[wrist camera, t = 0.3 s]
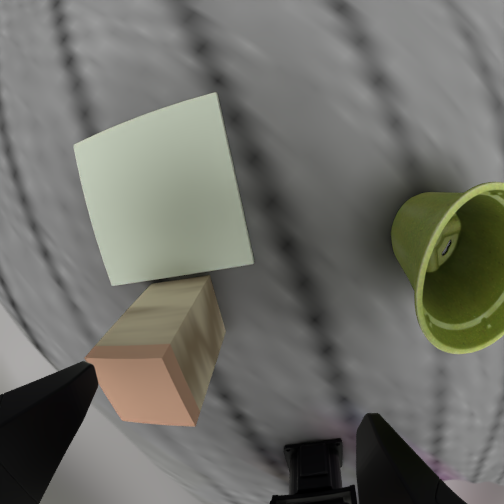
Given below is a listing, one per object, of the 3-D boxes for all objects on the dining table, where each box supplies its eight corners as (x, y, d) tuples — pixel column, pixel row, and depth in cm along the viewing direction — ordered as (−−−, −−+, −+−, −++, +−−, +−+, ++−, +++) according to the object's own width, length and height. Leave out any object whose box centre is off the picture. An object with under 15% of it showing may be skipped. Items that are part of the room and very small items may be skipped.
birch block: (225, 331, 24) (195, 426, 14) (170, 336, 24) (122, 420, 15) (209, 275, 22) (162, 358, 13) (151, 283, 23) (84, 357, 14)
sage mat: (254, 261, 21) (253, 263, 21) (114, 283, 23) (112, 286, 23) (217, 93, 18) (215, 92, 17) (77, 144, 20) (73, 145, 19)
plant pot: (404, 143, 18) (474, 142, 9) (489, 207, 18) (561, 238, 10) (345, 260, 21) (379, 324, 13) (436, 305, 21) (486, 368, 13)
